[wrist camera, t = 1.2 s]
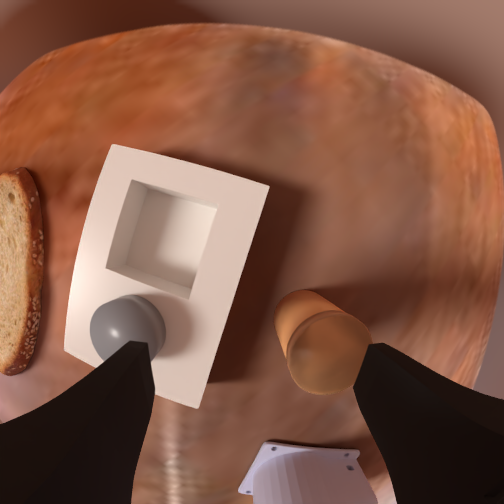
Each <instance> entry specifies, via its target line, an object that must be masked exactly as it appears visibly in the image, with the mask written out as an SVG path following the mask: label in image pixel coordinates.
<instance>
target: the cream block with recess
mask: <svg viewBox="0 0 504 504" xmlns="http://www.w3.org/2000/svg"><path fill="white" fill-rule="evenodd" d="M269 187H270V186H267V185H264V184H261V183H258V182H255V181H252V180H248V179H245V178H242V177H239V176H236V175H232V174H229V173H226V172H222V171H219V170H215V169H212V168H208V167H205V166H201V165H197V164H194V163H190V162H186V161H183V160H179V159H175V158H171V157H167V156H163V155H159V154H155V153H151V152H146V151H142V150H138V149H133V148H129V147H124V146H119V145H115V144H112V146H111V148H110V150H109V153H108V155H107V158H106V161H105V163H104V166H103V168H102V171H101V174H100V177H99V180H98V182H97V185H96V188H95V191H94V194H93V197H92V201H91V204H90V207H89V210H88V214H87V217H86V221H85V225H84V228H83V232H82V236H81V240H80V244H79V249H78V253H77V258H76V262H75V267H74V273H73V278H72V284H71V290H70V296H69V303H68V311H67V319H66V329H65V341H64V351H66V352H68V353H70V354H71V355H73V356H75V357H77V358H79V359H80V360H82V361H84V362H86V363H88V364H90V365H92V366H93V367H95V368H97V367H98V366H99V365H100V364H102V363H103V362H104V361H105V360H107V359H108V358H109V357H110V356H111V355H113V354H114V353H115V352H116V351H117V350H118V349H120V348H121V347H122V346H123V345H125V344H126V343H127V342H128V341H130V340H131V341H139V342H147V343H148V347H149V354H150V361H151V367H152V373H153V378H154V384H155V394H156V395H159V396H161V397H164V398H167V399H169V400H172V401H175V402H178V403H181V404H184V405H187V406H190V407H193V408H196V409H198V408H199V405H200V402H201V399H202V395H203V392H204V389H205V386H206V383H207V380H208V377H209V373H210V370H211V367H212V364H213V361H214V358H215V355H216V351H217V348H218V345H219V342H220V339H221V336H222V333H223V330H224V326H225V323H226V320H227V317H228V314H229V311H230V308H231V305H232V302H233V298H234V295H235V292H236V289H237V286H238V283H239V280H240V277H241V274H242V270H243V267H244V264H245V261H246V258H247V255H248V252H249V249H250V246H251V243H252V239H253V236H254V233H255V230H256V227H257V224H258V221H259V218H260V215H261V212H262V209H263V206H264V202H265V199H266V196H267V193H268V190H269Z"/></svg>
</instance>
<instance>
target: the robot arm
mask: <svg viewBox="0 0 504 504" xmlns="http://www.w3.org/2000/svg"><path fill="white" fill-rule="evenodd" d="M353 389H354V392H355V396H356V399H357V402H358V405H359V408H360V411H361V413H362V415H363V417H364V419H365V421H366V423H367V425H368V428H369V430H370V432H371V434H372V436H373V438H374V440H375V442H376V444H377V446H378V448H379V450H380V452H381V454H382V456H383V458H384V461H385V463H386V466H387V469H388V472H389V475H390V478H391V481H392V485H393V489H394V493H395V497H396V501H397V504H504V400H503V399H498V398H495V397H491V396H488V395H485V394H482V393H479V392H477V391H474V390H472V389H469V388H467V387H464V386H462V385H460V384H458V383H456V382H454V381H452V380H450V379H448V378H446V377H444V376H442V375H440V374H438V373H436V372H435V371H433V370H431V369H429V368H428V367H426V366H424V365H422V364H421V363H419V362H417V361H416V360H414V359H412V358H410V357H409V356H407V355H405V354H404V353H402V352H400V351H398V350H397V349H395V348H393V347H391V346H389V345H387V344H385V343H376V344H369V345H368V348H367V351H366V354H365V357H364V359H363V362H362V365H361V368H360V371H359V373H358V376H357V378H356V381H355V384H354V386H353ZM154 395H155V384H154V378H153V373H152V367H151V361H150V354H149V347H148V343H147V342H139V341H131V340H130V341H128V342H127V343H126V344H125V345H123V346H122V347H121V348H120V349H118V350H117V351H116V352H115V353H114V354H113V355H111V356H110V357H109V358H108V359H107V360H105V361H104V362H103V363H102V364H100V365H99V366H98V367H97V368H96V369H94V370H93V371H92V372H91V373H89V374H88V375H87V376H85V377H84V378H83V379H81V380H80V381H79V382H77V383H76V384H74V385H73V386H72V387H70V388H69V389H68V390H66V391H65V392H63V393H62V394H60V395H59V396H57V397H56V398H54V399H52V400H51V401H49V402H47V403H46V404H44V405H42V406H40V407H38V408H37V409H35V410H33V411H31V412H29V413H26V414H24V415H22V416H20V417H17V418H15V419H13V420H10V421H8V422H6V423H3V424H0V504H131V497H132V488H133V480H134V475H135V470H136V466H137V462H138V459H139V455H140V452H141V448H142V445H143V441H144V438H145V434H146V431H147V427H148V424H149V421H150V417H151V413H152V407H153V401H154ZM272 447H276V448H272ZM346 453H347V454H346ZM359 455H360V452H359V450H357V449H330V448H317V447H306V446H297V445H289V444H282V443H276V442H265V443H264V444H263V445H262V447H261V449H260V451H259V453H258V454H257V456H256V458H255V460H254V462H253V464H252V466H251V467H250V469H249V471H248V473H247V474H246V476H245V478H244V480H243V481H242V483H241V485H240V487H239V489H238V491H239V492H240V493H242V494H249V495H253V504H378V501H377V498H376V495H375V493H374V492H373V490H372V488H371V486H370V484H369V482H368V480H367V478H366V477H365V475H364V473H363V471H362V469H361V467H360V465H359V463H358V461H357V460H356V459H357V458H358V456H359Z"/></svg>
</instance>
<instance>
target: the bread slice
mask: <svg viewBox="0 0 504 504" xmlns="http://www.w3.org/2000/svg"><path fill="white" fill-rule="evenodd" d="M43 264H44V250H43V221H42V213H41V206H40V199H39V194H38V191H37V188H36V185H35V182H34V180H33V178H32V176H31V174H30V173H29V172H28V171H27V170H26V169H25V168H22V167H21V168H17V169H14V170H12V171H8V172H5V173H3V174H1V175H0V372H1V373H2V374H4V375H7V376H13V375H15V374H17V373H19V372H21V371H23V370H24V369H25V368H26V366H27V364H28V362H29V361H30V358H31V356H32V354H33V352H34V346H35V343H36V340H37V333H38V329H39V321H40V317H41V299H40V293H41V287H42V283H43Z"/></svg>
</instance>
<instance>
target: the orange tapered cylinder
mask: <svg viewBox="0 0 504 504" xmlns="http://www.w3.org/2000/svg"><path fill="white" fill-rule="evenodd" d="M274 327H275V330H276V333H277V335H278V338H279V341H280V343H281V346H282V349H283V351H284V354H285V357H286V361H287V365H288V368H289V371H290V374H291V376H292V378H293V380H294V381H295V382H296V384H297V385H298V386H299V387H301V388H302V389H304V390H305V391H307V392H310V393H313V394H318V395H328V394H334V393H338V392H340V391H343V390H345V389H347V388H348V387H350V386H352V385H353V384H354V383H355V381H356V378H357V376H358V373H359V371H360V368H361V365H362V362H363V359H364V357H365V354H366V351H367V348H368V345H369V344H373V342H372V337H371V334H370V332H369V330H368V329H367V327H366V326H365V325H364V324H363V323H362V322H361V321H360V320H358V319H357V318H355V317H354V316H352V315H350V314H348V313H346V312H344V311H343V310H341V309H340V308H338V307H337V306H335V305H334V304H332V303H331V302H329V301H328V300H326V299H325V298H323V297H322V296H320V295H319V294H317V293H315V292H313V291H309V290H298V291H294V292H292V293H290V294H288V295H286V296H285V297H284V298H283V299H282V300H281V301H280V302H279V304H278V305H277V307H276V309H275V312H274Z"/></svg>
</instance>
